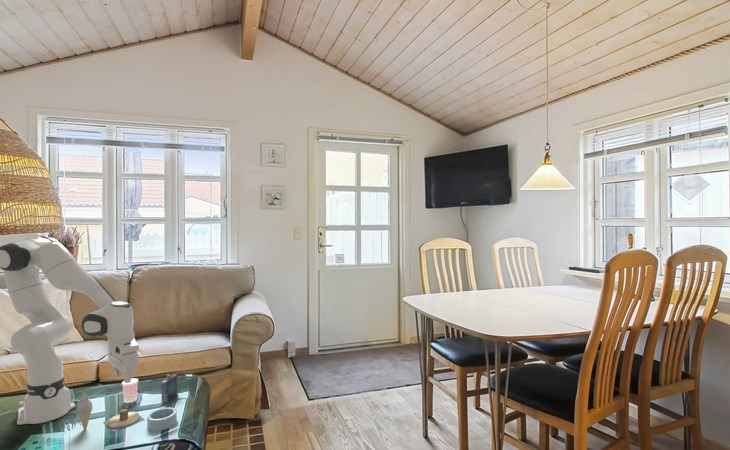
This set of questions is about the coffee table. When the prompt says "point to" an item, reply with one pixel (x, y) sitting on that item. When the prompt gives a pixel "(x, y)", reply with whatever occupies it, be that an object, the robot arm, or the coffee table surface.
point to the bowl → (161, 419)
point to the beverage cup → (130, 390)
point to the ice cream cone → (84, 410)
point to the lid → (123, 419)
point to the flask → (169, 387)
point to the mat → (123, 427)
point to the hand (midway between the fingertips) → (122, 379)
